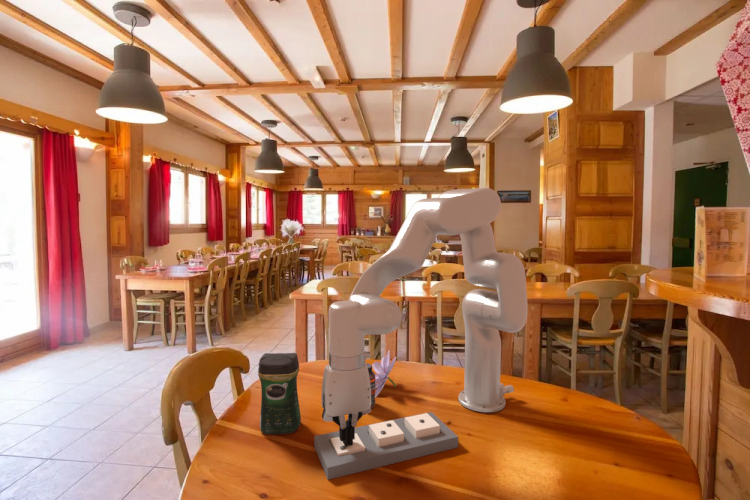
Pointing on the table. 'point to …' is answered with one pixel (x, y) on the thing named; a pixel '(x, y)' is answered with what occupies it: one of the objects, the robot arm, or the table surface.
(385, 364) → the water lily
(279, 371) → the coffee jar
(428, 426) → the tile
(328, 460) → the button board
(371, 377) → the supplement bottle
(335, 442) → the tile
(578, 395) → the table surface
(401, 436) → the tile
